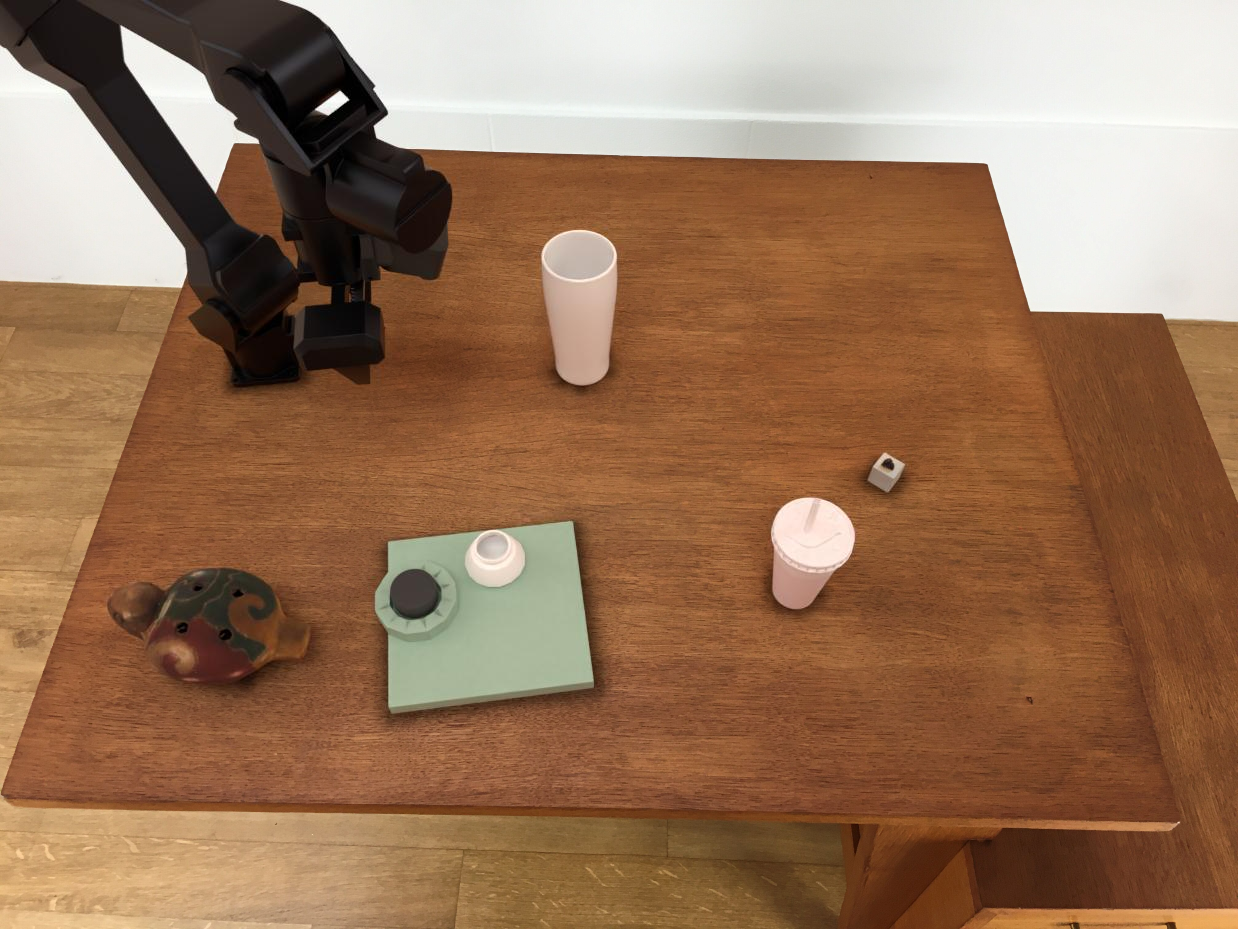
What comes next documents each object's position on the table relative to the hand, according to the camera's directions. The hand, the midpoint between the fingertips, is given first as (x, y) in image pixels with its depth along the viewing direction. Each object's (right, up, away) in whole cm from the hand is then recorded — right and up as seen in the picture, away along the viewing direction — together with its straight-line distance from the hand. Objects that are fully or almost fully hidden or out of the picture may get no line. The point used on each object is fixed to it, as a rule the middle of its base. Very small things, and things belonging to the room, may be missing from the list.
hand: (364, 341), depth 82 cm
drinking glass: (+18, -1, +14) cm, 23 cm away
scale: (+11, -23, -1) cm, 25 cm away
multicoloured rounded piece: (-10, -25, -3) cm, 28 cm away
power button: (+5, -21, -4) cm, 22 cm away
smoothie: (+37, -21, 0) cm, 42 cm away
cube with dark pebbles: (+46, -12, +7) cm, 48 cm away
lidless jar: (+11, -19, 0) cm, 22 cm away
